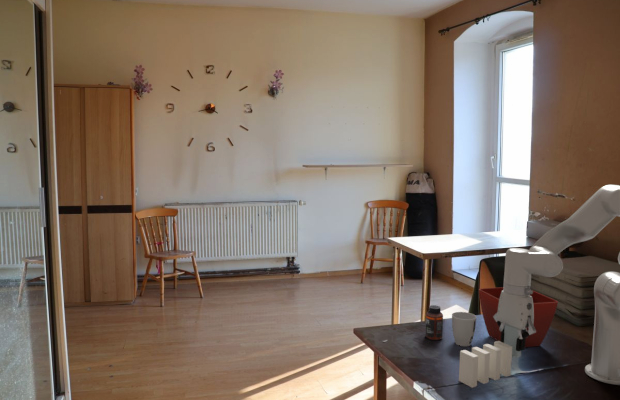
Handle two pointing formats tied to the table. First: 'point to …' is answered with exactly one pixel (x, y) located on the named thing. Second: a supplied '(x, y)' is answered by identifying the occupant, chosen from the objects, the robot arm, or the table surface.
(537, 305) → the plant pot
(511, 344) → the domino
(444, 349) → the table surface
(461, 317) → the cup
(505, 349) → the domino
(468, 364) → the domino
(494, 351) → the domino
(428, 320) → the supplement bottle
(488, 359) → the domino
